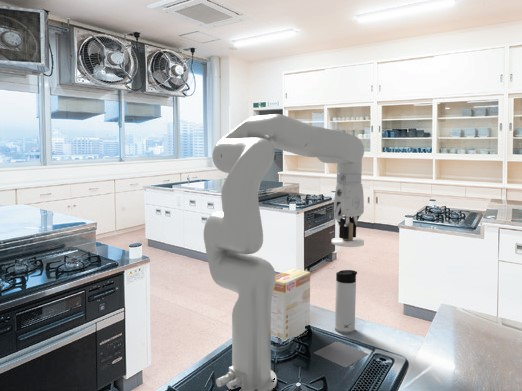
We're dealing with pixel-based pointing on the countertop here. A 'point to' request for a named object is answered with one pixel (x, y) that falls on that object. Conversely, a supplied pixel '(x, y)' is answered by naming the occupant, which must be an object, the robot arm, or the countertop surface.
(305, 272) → the coffeecake box
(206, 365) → the countertop surface
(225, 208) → the robot arm
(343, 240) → the lid
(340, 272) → the travel mug
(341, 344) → the mat
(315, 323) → the countertop surface
